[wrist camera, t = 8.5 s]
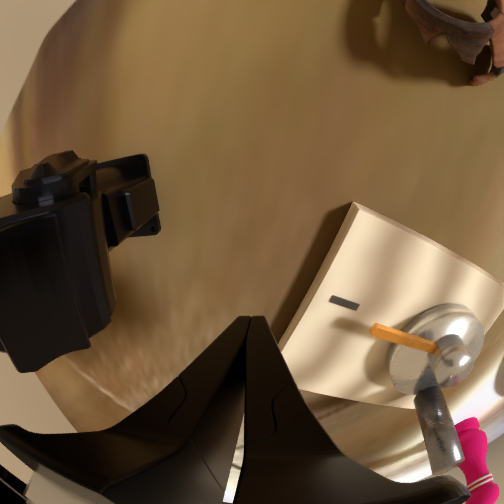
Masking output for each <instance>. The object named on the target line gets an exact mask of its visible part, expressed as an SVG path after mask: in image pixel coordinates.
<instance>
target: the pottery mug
mask: <svg viewBox="0 0 504 504" xmlns="http://www.w3.org/2000/svg"><path fill="white" fill-rule="evenodd" d="M401 2H402V4H403V5H405V11H406V12H407V14H408V15H409V16H410V17H411V18H412V20H413V21H414V22H415V23H416V25H417V27H418V29H419V30H420V33H421V36H422V38H423V40H424V42H425V43H429V40H431V39H432V38H434V37H436V36H438V35H439V34H441V33H444V32H445V33H446V35H447V38H448V41H449V43H450V44H451V46H452V47H453V48H454V50H455V51H456V52H457V53H458V55H459V57H460V58H461V60H462V61H464V62H467V63H469V64H474V63H475V60H476V55H478V54H479V53H480V52H481V51H482V49H483V47H484V46H485V44H486V43H487V42H488V41H490V45H489V49H490V52H491V55H492V67H491V70H490V72H489V73H487V74H482V75H475V76H474V78H473V79H472V80H470V82H469V83H470V85H471V86H478V85H482V84H484V83H486V82H488V81H491V80H493V79H494V78H497V77H498V76H499V75H501V74H502V73H503V72H504V0H488V1H487V5H486V7H485V9H484V11H483V13H482V14H481V17H482V18H483V20H484V21H485V23H472V22H467V21H463V20H459V19H456V18H454V17H451V16H449V15H447V14H444V13H442V12H441V11H440V10H438V9H436V8H435V7H434V6H433V5H431V4H430V3H429V2H428V1H427V0H401Z"/></svg>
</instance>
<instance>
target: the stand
mask: <svg viewBox="0 0 504 504" xmlns="http://www.w3.org/2000/svg"><path fill="white" fill-rule="evenodd" d="M450 303H456V304H462V305H464V306H466V307H468V308H469V309H470V310H471V311H472V312H473V313H474V315H475V316H476V318H477V319H478V320H479V322H480V323H481V325H482V326H483V329H484V335H485V334H486V332H487V331H488V330H489V328H490V327H491V326H492V324H493V323H494V321H495V320H496V319H497V317H498V316H499V314H500V313H501V311H502V310H503V309H504V282H502V281H500V280H499V279H497V278H496V277H494V276H493V275H491V274H489V273H488V272H486V271H485V270H483V269H481V268H480V267H478V266H476V265H475V264H473V263H471V262H470V261H468V260H466V259H465V258H463V257H461V256H459V255H458V254H456V253H454V252H452V251H451V250H449V249H447V248H445V247H443V246H442V245H440V244H438V243H436V242H434V241H432V240H431V239H429V238H427V237H425V236H423V235H421V234H419V233H417V232H415V231H414V230H412V229H410V228H408V227H406V226H404V225H402V224H400V223H398V222H396V221H394V220H392V219H390V218H388V217H386V216H383V215H381V214H379V213H377V212H375V211H373V210H371V209H369V208H367V207H364V206H362V205H360V204H358V203H356V202H352V204H351V207H350V209H349V211H348V213H347V215H346V217H345V219H344V221H343V223H342V225H341V227H340V229H339V232H338V234H337V236H336V238H335V240H334V242H333V244H332V246H331V248H330V250H329V252H328V254H327V255H326V257H325V259H324V261H323V263H322V265H321V267H320V269H319V271H318V273H317V275H316V277H315V279H314V280H313V282H312V284H311V286H310V288H309V290H308V292H307V293H306V295H305V297H304V299H303V301H302V303H301V304H300V306H299V308H298V310H297V312H296V313H295V315H294V317H293V319H292V320H291V322H290V324H289V326H288V328H287V329H286V331H285V333H284V334H283V336H282V338H281V340H280V341H279V343H278V346H279V348H280V351H281V353H282V355H283V357H284V359H285V361H286V363H287V366H288V368H289V370H290V372H291V374H292V376H293V378H294V381H295V382H296V384H297V387H298V389H302V390H306V391H311V392H315V393H320V394H324V395H329V396H334V397H339V398H344V399H349V400H355V401H361V402H367V403H373V404H379V405H386V406H394V407H402V408H411V409H415V405H414V402H413V400H414V398H415V396H416V395H408V394H404V393H402V392H400V391H398V390H397V389H396V388H395V387H394V386H393V384H392V380H391V377H390V373H389V370H388V367H387V354H388V350H389V348H390V346H391V344H392V342H390V341H387V340H384V339H381V338H377V337H374V336H371V333H370V329H371V328H372V326H373V325H374V324H375V323H378V324H381V325H384V326H387V327H390V328H393V329H396V330H399V331H401V330H402V329H403V328H404V327H405V326H406V325H407V324H408V323H410V322H411V321H412V320H413V319H415V318H416V317H417V316H419V315H420V314H422V313H424V312H426V311H428V310H430V309H432V308H434V307H437V306H440V305H444V304H450Z"/></svg>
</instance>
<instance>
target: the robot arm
mask: <svg viewBox="0 0 504 504" xmlns="http://www.w3.org/2000/svg"><path fill="white" fill-rule="evenodd" d="M140 158H142V159H143V163H141V162H140ZM158 211H159V205H158V200H157V195H156V189H155V183H154V180H153V179H152V178H151V172H150V166H149V160H148V157H147V155H145V154H137V155H133V156H128V157H123V158H119V159H114V160H110V161H106V162H102V163H98V164H97V161H96V160H94V161H89V159H81V158H78V156H77V155H76V154H75V153H74V152H73V150H72V151H64V152H61V153H57V154H54V155H51V156H48V157H46V158H44V159H43V160H42V161H41V162H40V163H38V164H35V165H34V166H33V167H32V168H29V169H26V170H23V171H20V172H19V174H18V176H17V177H16V179H15V181H14V183H13V184H12V193H11V194H8V195H5V196H3V197H0V352H2V353H7V354H8V356H9V357H10V359H11V361H12V363H13V364H14V366H15V368H16V369H17V371H18V372H20V373H27V372H35V371H38V370H39V369H41V368H42V367H44V366H45V365H47V364H48V363H50V362H51V361H53V360H54V359H56V358H58V357H59V356H62V355H64V354H67V353H70V352H72V351H77V350H82V349H87V348H90V347H91V343H90V341H89V338H91V337H93V336H94V335H96V334H97V333H99V332H100V331H102V330H103V329H104V328H105V327H106V326H107V325H108V324H109V323H110V322H111V315H112V313H113V311H114V309H115V306H116V304H117V303H116V292H115V287H114V282H113V276H112V271H111V265H110V259H109V252H110V251H111V250H112V249H113V248H114V247H116V246H118V245H119V244H120V243H121V242H122V241H124V240H125V239H126V238H127V237H135V236H148V235H156V234H158V233H159V232H160V230H161V225H160V220H159V215H158ZM153 226H154V227H156V230H154V229H153ZM243 414H244V455H243V463H242V467H241V471H240V476H239V480H238V484H237V488H236V492H235V496H234V500H233V504H462V503H464V502H465V501H467V500H468V499H469V498H470V497H471V494H470V492H469V490H468V489H467V488H466V487H465V486H464V485H463V484H462V483H461V482H459V481H458V480H456V479H455V478H453V477H452V476H449V475H442V476H437V477H433V478H430V479H426V480H423V481H419V482H414V483H400V482H395V481H392V480H389V479H387V478H385V477H383V476H382V475H380V474H378V473H376V472H374V471H372V470H370V469H369V468H367V467H365V466H363V465H361V464H360V463H358V462H356V461H355V460H353V459H351V458H349V457H348V456H347V455H345V454H344V453H343V452H342V451H341V450H340V449H339V448H338V447H337V445H336V444H335V443H334V442H333V440H332V439H331V438H330V436H329V435H328V433H327V432H326V431H325V429H324V428H323V427H322V425H321V424H320V422H319V421H318V420H317V418H316V417H315V416H314V414H313V413H312V411H311V410H310V408H309V407H308V405H307V403H306V402H305V400H304V398H303V396H302V394H301V393H300V391H299V389H298V387H297V384H296V382H295V381H294V378H293V376H292V374H291V372H290V370H289V368H288V366H287V363H286V361H285V359H284V357H283V355H282V353H281V351H280V348H279V346H278V344H277V342H276V340H275V338H274V336H273V333H272V331H271V329H270V327H269V325H268V323H267V320H266V318H265V317H264V316H252V317H251V316H239V317H237V318H236V319H235V320H234V321H233V322H232V323H231V324H230V325H229V326H228V327H227V328H226V329H225V330H224V331H223V332H222V333H221V334H220V335H219V336H218V337H217V338H216V339H215V340H214V341H213V342H212V343H211V344H210V345H209V346H208V347H207V348H206V349H205V350H204V351H203V352H202V353H201V354H200V355H199V356H198V357H197V358H196V359H195V360H194V361H193V362H192V363H191V364H190V365H189V366H188V367H187V368H186V369H185V370H184V371H182V372H181V373H180V374H179V377H176V378H175V379H174V380H173V381H172V382H171V383H170V384H169V385H167V386H166V387H165V388H164V389H163V390H162V391H161V392H160V393H158V394H157V395H156V396H155V397H153V398H152V399H151V400H149V401H148V402H147V403H146V404H144V405H143V406H141V407H140V408H139V409H137V410H136V411H135V412H133V413H132V414H130V415H129V416H128V417H126V418H125V419H123V420H122V421H121V422H119V423H117V424H116V425H114V426H112V427H110V428H108V429H105V430H101V431H94V432H81V433H65V434H64V433H63V434H39V433H33V432H29V431H27V430H25V429H23V428H21V427H20V426H18V425H15V424H8V425H1V426H0V442H1V443H2V444H3V445H4V446H5V447H6V448H7V449H9V450H10V451H11V452H12V453H13V454H14V455H15V456H16V457H18V458H19V459H20V460H21V461H22V462H24V463H25V464H26V465H27V466H28V467H30V468H31V469H32V470H33V473H32V475H31V477H30V479H29V482H28V483H27V484H25V483H24V482H23V481H21V480H20V479H18V478H17V477H16V476H14V475H13V474H12V473H10V472H9V471H8V470H6V469H5V468H4V467H3V466H1V465H0V504H222V502H223V498H224V494H225V493H224V492H225V489H226V486H227V482H228V478H229V473H230V469H231V465H232V461H233V457H234V453H235V449H236V445H237V440H238V436H239V432H240V427H241V423H242V419H243Z"/></svg>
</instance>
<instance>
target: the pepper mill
mask: <svg viewBox="0 0 504 504" xmlns="http://www.w3.org/2000/svg"><path fill="white" fill-rule="evenodd" d="M479 426H480V425H479V422H478V420H477V418H474V417H473V418H469V419H466V420H464V421H462V422H461V423H459V424H457V425H456V426H455V429H456V432H457V435H458V438H459V441H460V444H461V447H462V451H463V454H464V457H465V460H464V462H463V463H462V464H460V465H459V466H458V467H459V468H460V469H461V470H462V471H463V473H464V474H465V477H466V481H467V487H466V488H467V489H468V490H469V492H470V494H471V497H470V498H469V499H468V500H467V501H466V503H465V504H494V503H495V501H496V500H497V499H498V496H499V487H498V485H497V484H494V483H493V482H492V480H493V478H492V474H489V471H488V469H487V465H486V452H487V437H486V433H485V432H484V431H481V430H478V429H479Z"/></svg>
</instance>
